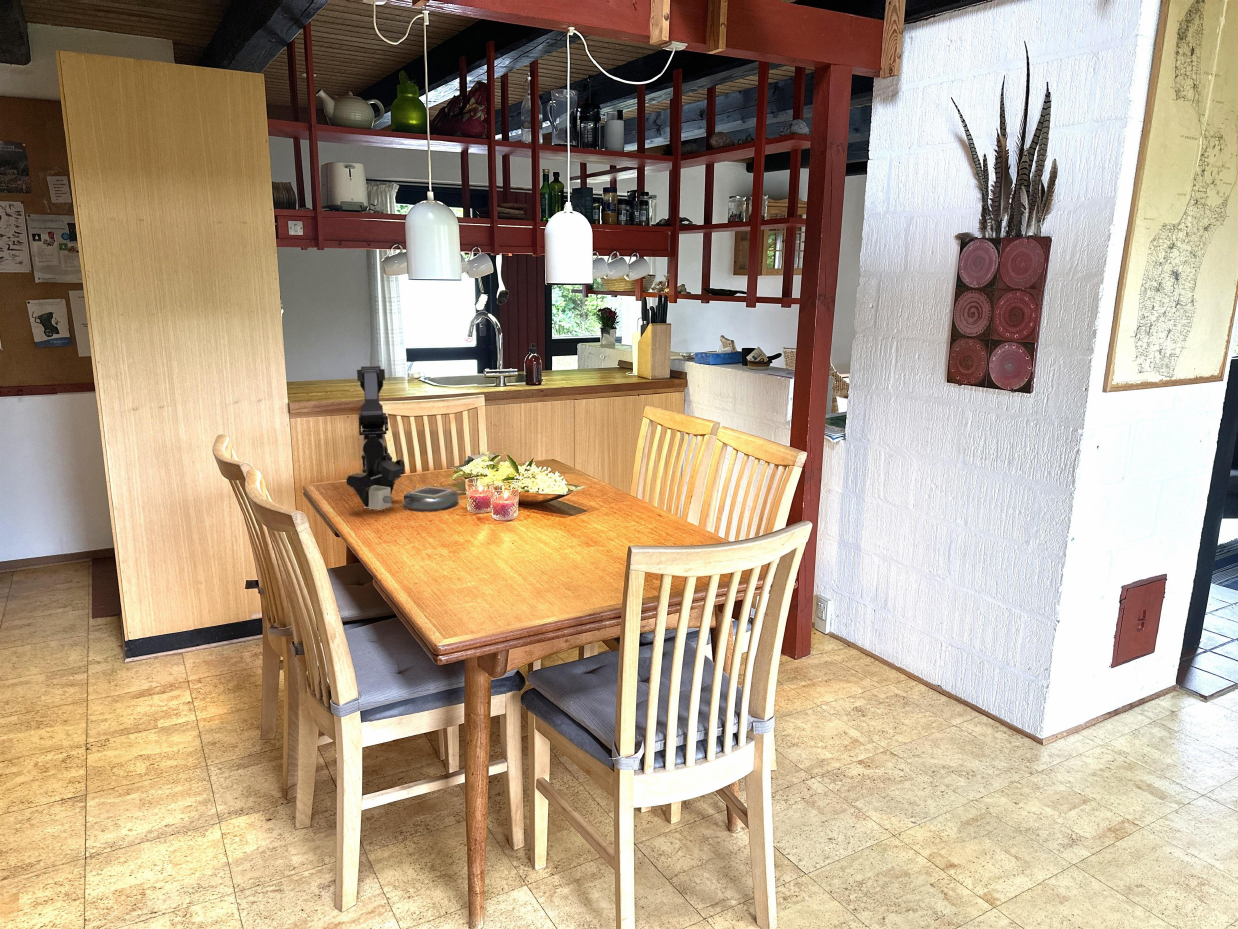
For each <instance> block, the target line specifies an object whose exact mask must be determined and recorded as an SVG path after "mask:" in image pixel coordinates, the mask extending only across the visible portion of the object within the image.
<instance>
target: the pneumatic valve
mask: <svg viewBox="0 0 1238 929" xmlns="http://www.w3.org/2000/svg"><path fill="white" fill-rule="evenodd" d="M487 455H488V456H490V457H492V456H498V454H496V453H494V452H493V453H485V452H481V454H476V455H473V454H472V455H467V458H466V460H464V461H463V467H464V466H466V465H468V464H469V463H470V462H472V461H473V460H475V459H478V458H481V457H484V456H487Z"/></svg>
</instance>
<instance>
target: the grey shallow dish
mask: <svg viewBox="0 0 1238 929" xmlns="http://www.w3.org/2000/svg"><path fill="white" fill-rule="evenodd" d="M403 504H404V505H403V506H405V507H406V508H405V507H404V508H405V509H407V508H408V509H407V510H409V509H411V510H410V511H413V510H416V511H415V512H423V511H429V512H440V511H439V510H441V511H445V510H450V509H452V508H455V507H457V506H458V505H459V493H458V491H457V490H455V489H452V488H445V487H434V486H424V487H422V488H419V489H418V488H417V489H414V490H411V491H410V490H409V491H407V492H406V493H404V494H403Z"/></svg>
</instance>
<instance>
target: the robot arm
mask: <svg viewBox="0 0 1238 929" xmlns="http://www.w3.org/2000/svg"><path fill="white" fill-rule="evenodd" d="M356 375H357V378H356V379H357V380H356V381H357V382H359V386H360V388H361V389H362V391H363V394H364V402H363V403H362V404H361V406H360V413H358V416H357V417H358V436H363V437H362V438H363V443H362V444H363V445H362V452H363V454H362V455H361V460H362V473H359V472H358V473H357V472H355V473H352V474H350V475H348V476H347V477H346V486H350V488H353V490H354V491H355V493H356V494H357V495H358V497H359V499H360V500H361V502H362V504H363V507H364V506H365V507H369V489H370V488H371V486H374V485H376V486H383V487H390V490H391V495H392V494H393V491H394V490H393V489H394V487H395V484H396V481H398V480H399V479H401V477H402V475H404V474H405V467H406V466H405V462H404V460H403V459H401V458H400V459H397V460H393V457H392V456H391V454H390V452H388V447H387V446H386V444H385V439H384V438H385V437H384V435H387V434H388V432H389V416H388V415H387V413H386V412H384V410H383V409H384V408H383V404H381V403H380V393H381V391H382V389H383V387H384V382H385V381H386V369H385V368H381V365H376V366H375V365H370V366H369V365H367V366H364V365H363V366H360V369H356Z"/></svg>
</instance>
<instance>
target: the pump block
mask: <svg viewBox="0 0 1238 929" xmlns="http://www.w3.org/2000/svg"><path fill="white" fill-rule="evenodd" d="M393 502H394V498H393V496H392V494H391V490H390V487H383V486H376V485H374V486H371V488H370V489H369V507H365V506H364V505H363V507H364V509H365V508H369V509H368V510H371V509H377V510H376V511H378V510H381V509H384V508H387V507H389V508H391V507H392V503H393ZM390 506H391V507H390ZM387 509H388V508H387ZM384 510H385V509H384ZM381 511H382V510H381Z"/></svg>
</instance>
